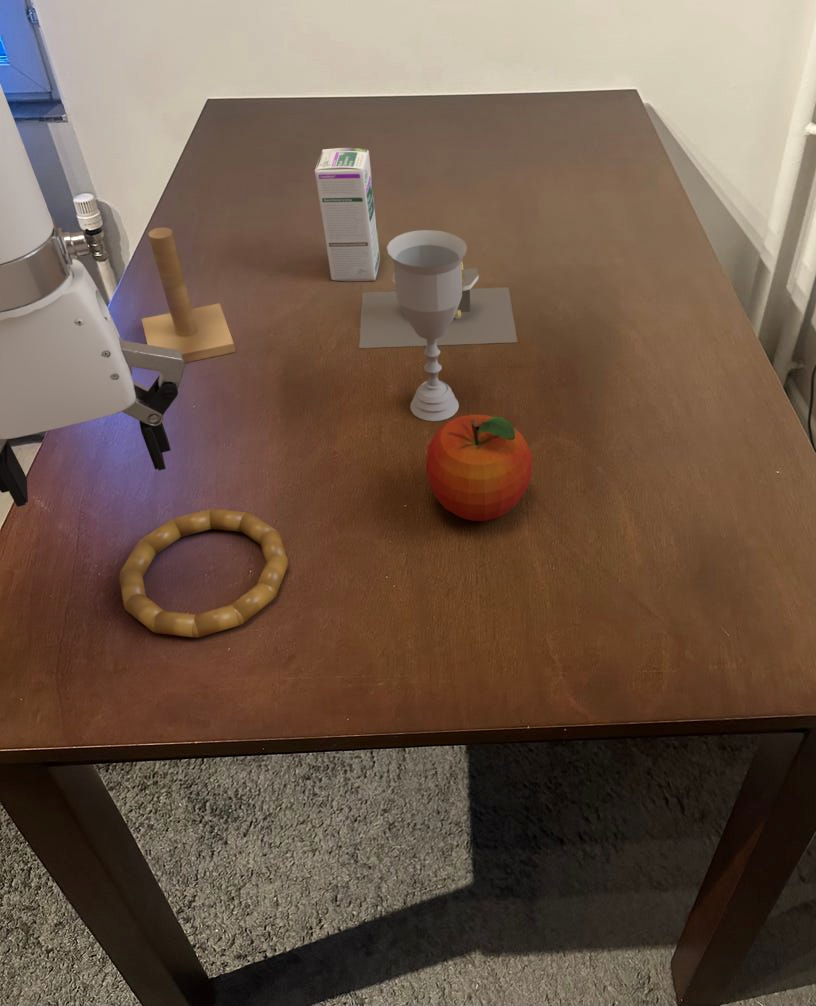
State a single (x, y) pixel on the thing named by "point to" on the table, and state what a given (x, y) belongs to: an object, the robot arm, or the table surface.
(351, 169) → the syrup box
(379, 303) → the platform
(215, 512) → the ring
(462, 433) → the fruit
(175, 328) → the post
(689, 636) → the table surface
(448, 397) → the chalice
